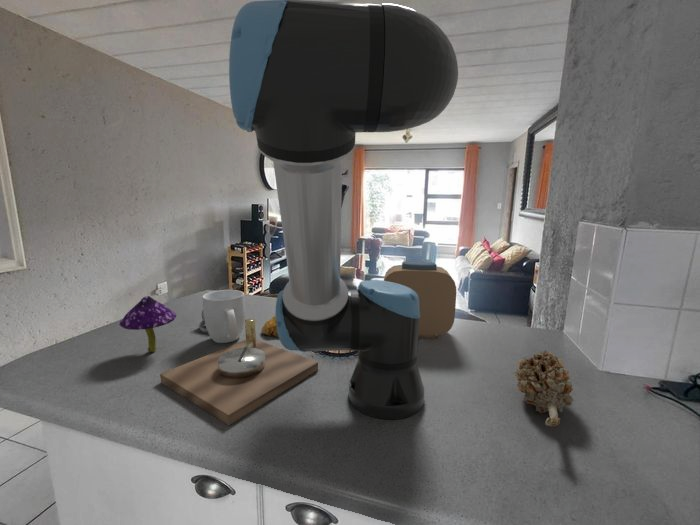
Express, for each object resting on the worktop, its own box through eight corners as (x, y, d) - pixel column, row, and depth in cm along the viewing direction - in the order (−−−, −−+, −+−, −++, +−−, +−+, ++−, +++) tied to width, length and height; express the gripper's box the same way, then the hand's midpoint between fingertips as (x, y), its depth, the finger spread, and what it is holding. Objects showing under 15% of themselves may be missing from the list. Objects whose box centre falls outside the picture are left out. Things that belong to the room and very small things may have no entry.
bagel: (258, 328, 102) (258, 314, 102) (293, 324, 107) (293, 310, 106) (265, 341, 94) (264, 325, 93) (302, 335, 98) (302, 320, 97)
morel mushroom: (508, 381, 73) (512, 338, 72) (557, 389, 70) (563, 345, 69) (526, 449, 53) (532, 393, 51) (597, 465, 50) (606, 405, 48)
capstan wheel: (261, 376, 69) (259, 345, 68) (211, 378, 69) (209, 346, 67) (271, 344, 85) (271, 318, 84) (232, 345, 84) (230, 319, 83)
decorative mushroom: (129, 346, 89) (122, 292, 86) (180, 339, 94) (176, 287, 91) (117, 367, 78) (110, 306, 75) (177, 357, 83) (172, 300, 80)
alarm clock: (448, 328, 104) (452, 261, 100) (453, 341, 94) (458, 266, 91) (382, 324, 106) (384, 258, 103) (380, 336, 97) (383, 264, 93)
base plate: (318, 370, 77) (318, 360, 77) (229, 425, 58) (228, 413, 57) (251, 344, 91) (250, 336, 90) (161, 382, 71) (160, 372, 71)
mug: (255, 346, 90) (253, 299, 88) (212, 356, 84) (209, 306, 82) (240, 328, 102) (238, 287, 100) (202, 336, 96) (198, 292, 94)
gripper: (352, 157, 85) (351, 248, 89) (304, 158, 88) (305, 247, 92) (345, 153, 78) (344, 252, 82) (293, 154, 80) (295, 250, 85)
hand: (323, 249), depth 87 cm, fingers closed
